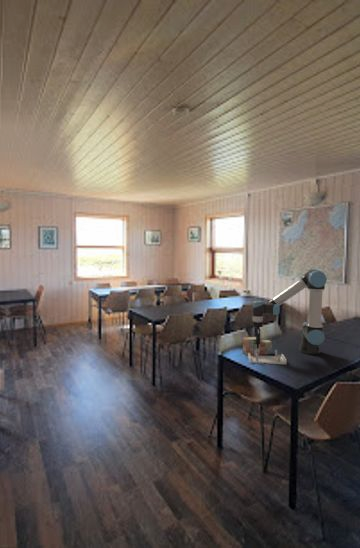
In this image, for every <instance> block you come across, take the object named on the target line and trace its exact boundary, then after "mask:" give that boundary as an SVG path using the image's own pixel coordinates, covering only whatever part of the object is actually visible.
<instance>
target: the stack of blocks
mask: <svg viewBox="0 0 360 548" xmlns="http://www.w3.org/2000/svg"><path fill="white" fill-rule="evenodd" d="M255 343H256V337H254V336H250V337H249V336H247V337H243V338H242V354H243V355H244V356H247V357H248V353H250V355H254V349H256V344H255ZM272 354H273V342H272V341H271V340H269V339H263V340H262V338H261V337H260V347H259V353H258V356H262V355H272Z"/></svg>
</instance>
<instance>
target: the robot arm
mask: <svg viewBox="0 0 360 548" xmlns="http://www.w3.org/2000/svg"><path fill="white" fill-rule="evenodd" d="M327 280H328V279H327V275H326V274H325V273H324V271H321V270H317V269H310V270H308V271H306V273H304V274H303V275H302V276H300V277H299V279H298V280H297V281H296V282H294V283H293V284H291V285H289V287H287V288H285V289H284V290H283V291H281V292H280V293H278V294H277V295H276V296H274V297H273V298H271V299H270V300H267V301H266V302H265V303H264V302H263V301H262V300H254V301H252V302H253V303H252V316H251V319H252V327H253V329H254V332H253V337H256V343H255V344H256V353H259V347H260V338H261V329H260V328H262V327H264V326H263V323H264V322H263V321H264V315H274V316H275V315H279V314H280V311H281V310H280V309H281V308H280V306H281V305H283V304H284V303H286V302H287V301H288V300H289V299H292V297H294V296H296V295H297V294H299V293H300V292H301V291H303V290H304V289H305V288H307V290H308V291H309V296H308V297H309V298H308V299H309V301H308V304H309V305H308V322H306V321H304V322H303V323H302V326H301V327H302V328H301V329H302V331H301V332H302V334H301V342H300V345H299V352H300V353H302V354H306V355H314V356H315V355H320V354H321V348H320V346H319V345H321V344H322V343H324V341H325V337H326V336H325V333H324V325H323V324H322V312H323V311H322V309H323V307H322V306H323V291H324V290H326V289H325V288H326V286H325V285H326V283H327Z"/></svg>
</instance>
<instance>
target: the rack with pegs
mask: <svg viewBox="0 0 360 548" xmlns="http://www.w3.org/2000/svg"><path fill="white" fill-rule="evenodd" d="M247 358H248V361H249V364H264V363H266V364H265V365H267V364H271V365H272V364H273V365H287V362H288V361H287V358H286V357H285V355H284V354H283V353H281V354H280V353H278V349H275V350H274V356H273V355H258V353H256V349H254V355H250V353H248V355H247Z"/></svg>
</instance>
